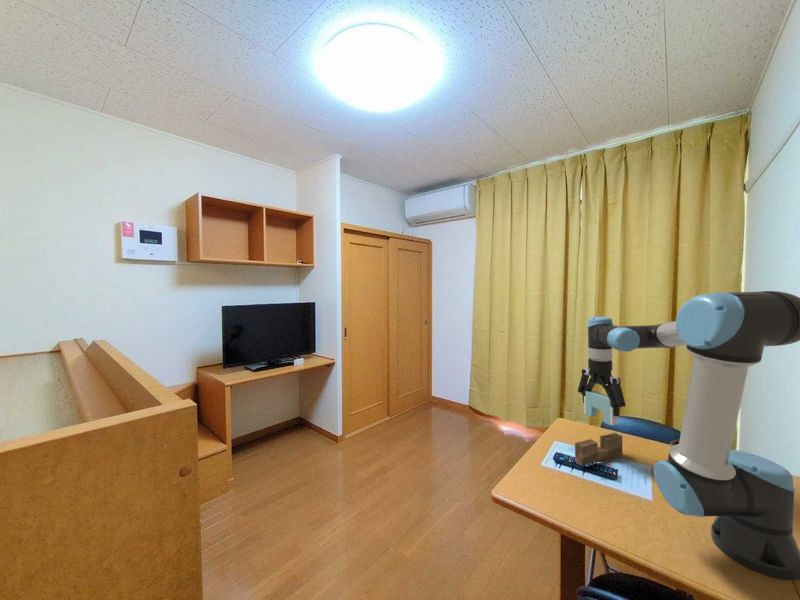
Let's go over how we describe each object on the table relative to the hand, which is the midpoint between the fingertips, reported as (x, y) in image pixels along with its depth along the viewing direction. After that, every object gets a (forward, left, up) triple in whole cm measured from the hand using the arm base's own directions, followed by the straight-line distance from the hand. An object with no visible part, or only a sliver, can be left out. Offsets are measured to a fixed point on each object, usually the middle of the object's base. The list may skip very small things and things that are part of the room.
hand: (600, 418), depth 118 cm
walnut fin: (0, 0, -16) cm, 16 cm away
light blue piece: (0, 0, 0) cm, 0 cm away
